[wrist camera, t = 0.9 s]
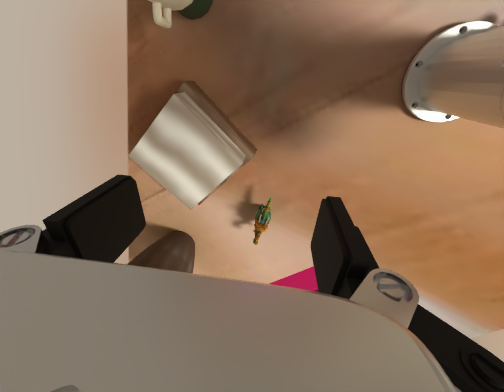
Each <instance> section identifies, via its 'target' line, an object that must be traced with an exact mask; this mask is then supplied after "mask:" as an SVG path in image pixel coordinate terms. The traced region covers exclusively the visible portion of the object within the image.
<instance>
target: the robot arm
mask: <svg viewBox="0 0 504 392" xmlns="http://www.w3.org/2000/svg"><path fill="white" fill-rule="evenodd" d="M459 30H460V32H459ZM416 63H417V66H415V65H416ZM402 94H403V100H404V104H405V105H406V107H407V109H408V110H409V111H410V113H411V114H412V115H414V116H415V117H417V118H419V119H422V120H424V121H429V122H447V121H451V120H454V119H457V118H464V119H468V120H472V121H476V122H480V123H484V124H488V125H492V126H496V127H500V128H504V25H503V26H498V25H496V24H494V23H491V22H488V21H470V22H465V23H461V24H458V25H455V26H453V27H450V28H448V29H446V30H444V31H442V32H441V33H439V34H437V35H436V36H435V37H433V38H432V39H431V40H430V41H428V42H427V43H426V44H425V45H424V46H423V47H422V48H421V49H420V50H419V52H418V53H417V54H416V56H415V57H414V58H413V60H412V61H411V63H410V65H409V67H408V69H407V71H406V74H405V77H404V81H403V87H402ZM413 103H414V104H413ZM412 104H413V106H412ZM43 222H44V224H45V226H46V228H47V229H45V230H44V231H42V230H41V228H40V227H39V226H36V225H24V226H19V227H15V228H11V229H9V230H6V231H4V232H1V233H0V392H504V362H503V361H501V360H500V359H499V358H497V357H496V356H495V355H493V354H492V353H491V352H489V351H488V350H486V349H485V348H483V347H482V346H480V345H478V344H477V343H476V342H474V341H472V340H471V339H470V338H468V337H467V336H465V335H464V334H462V333H461V332H459V331H458V330H456V329H455V328H453V327H452V326H450V325H449V324H447V323H446V322H444V321H443V320H441V319H440V318H438V317H437V316H435V315H434V314H432V313H431V312H429V311H427V310H426V309H424V308H423V307H421V306H420V305H418V302H419V295H418V293H417V290H416V289H415V287H414V286H413V285H412V284H411V283H410V282H409V281H408V280H407V279H406V278H404V277H403V276H401V275H400V274H398V273H395V272H393V271H391V270H387V269H380V268H379V266H378V265H377V263H376V261H375V259H374V257H373V255H372V253H371V251H370V249H369V247H368V245H367V243H366V241H365V239H364V237H363V235H362V234H361V232H360V230H359V228H358V227H356V226H354V224H353V222H352V220H351V218H350V216H349V214H348V212H347V210H346V208H345V206H344V204H343V202H342V200H341V198H340V197H331V196H327V198H326V199H322V201H321V205H320V209H319V213H318V217H317V221H316V225H315V229H314V233H313V237H312V241H311V252H312V258H313V264H314V269H315V275H316V280H317V286H318V292H314V291H309V290H303V289H297V288H292V287H284V286H277V285H271V284H264V283H257V282H250V281H243V280H236V279H229V278H222V277H215V276H207V275H200V274H193V273H186V272H178V271H171V270H164V269H156V268H149V267H141V266H134V265H126V264H118V263H114V262H115V260H116V259H117V258H118V257H119V256H120V255H121V254H122V253H123V252H124V250H125V249H126V248H127V247H128V246H129V245H130V244H131V243H132V242H133V240H134V239H135V238H136V237H137V236H138V235H139V234H140V233H141V231H142V230H143V229H144V228H145V225H146V222H145V217H144V213H143V209H142V205H141V201H140V196H139V192H138V188H137V184H136V181H135V180H134V179H133V178H132V177H131V176H126V175H116V176H115V177H114V178H112V179H110V180H108V181H107V182H105V183H103V184H102V185H100V186H98V187H97V188H95V189H93V190H92V191H90V192H88V193H87V194H85V195H83V196H82V197H80V198H78V199H77V200H75V201H73V202H72V203H70V204H68V205H67V206H65V207H64V208H62V209H60V210H59V211H57V212H55V213H54V214H52V215H51V216H49V217H47V218H46V219H44V220H43Z"/></svg>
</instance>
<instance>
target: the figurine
mask: <svg viewBox="0 0 504 392" xmlns="http://www.w3.org/2000/svg"><path fill="white" fill-rule="evenodd" d="M271 200H272V198H270V199H269V201H268V203H267V205H266V207H264V210H263V211H262V209H263V205H262V206H260V207H259V210H258V212H257V214H256V219H255V224H254V226H255V230H254V231H255V238H254V241H253V243H254V244H255V243H256V244H255V245H257V244H258V239H259V237H260V235H261V234H262V232H264V231H265V230H266V229H268V227H267V226H268V224H269V221H270V219H271V214H270V205H271Z"/></svg>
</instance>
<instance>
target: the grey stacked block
mask: <svg viewBox="0 0 504 392" xmlns="http://www.w3.org/2000/svg"><path fill="white" fill-rule="evenodd" d="M256 150H257V149H256V148H255V147H254V146H253V145H252V144H251V143H250V142H249V141H248V139H247V138H246V137H245V136H244V135H243V134H242V133H241V132H240V131H239V130H238V129H237V128H236V127H235V125H234V124H233V123H232V122H231V121H230V120H229V119H228V118H227V117H226V116H225V115H224V114H223V113H222V112H221V110H220V109H219V108H218V107H217V106H216V105H215V104H214V103H213V102H212V101H211V100H210V99H209V98H208V97H207V95H206V94H205V93H204V92H203V91H202V90H201V89H200V88H199V87H198V86H197V85H196V84H195V83H194V81H191V82H183V84H182V85H181V86H180V88H179V89H178V90H177V92H176V93H175V94H173V95H172V97H171V98H170V99H169V101H168V102H167V104H166V105H165V106H164V108H163V109H162V110H161V112H160V113H159V115H158V116H157V117H156V119H155V120H154V121H153V123H152V124H151V126H150V127H149V128H148V130H147V131H146V132H145V134H144V135H143V137H142V138H141V139H140V141H139V142H138V143H137V145H136V146H135V148H134V149H133V150H132V152H131V153H130V155H129V157H130V158H131V159H132V160H133V161H134V162H136V163H137V164H138V165H139V166H140V167H141V168H143V169H144V170H145V171H146V172H147V173H148V174H150V175H151V176H152V177H153V178H154V179H155V180H157V181H158V182H159V183H160V184H161V185H162V186H164V187H165V188H166V189H167V190H168V191H169V192H171V193H172V194H173V195H174V196H175V197H176V198H178V199H179V200H180V201H181V202H182V203H183V204H185V205H186V206H187V207H188V208H189V209H190V210H191V209H192V208H193V207H195V206H196V205H197V204H199V205H200V204H201V203H202V202H203V201H204V200H205V199H207V198H208V197H209V196H210V195H211V194H212V193H213V192H214V191H216V190H217V189H218V188H219V187H220V186H221V185H222V184H223V183H225V182H226V181H227V180H228V179H229V178H230V177H231V176H232V175H234V174H235V173H236V172H237V171H238V170H239V169H240V168H242V167H243V166H244V165H245V164H246V163H247V162H248V161H249V160H251V159H252V158H253V157H254V155H255V153H256Z"/></svg>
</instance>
